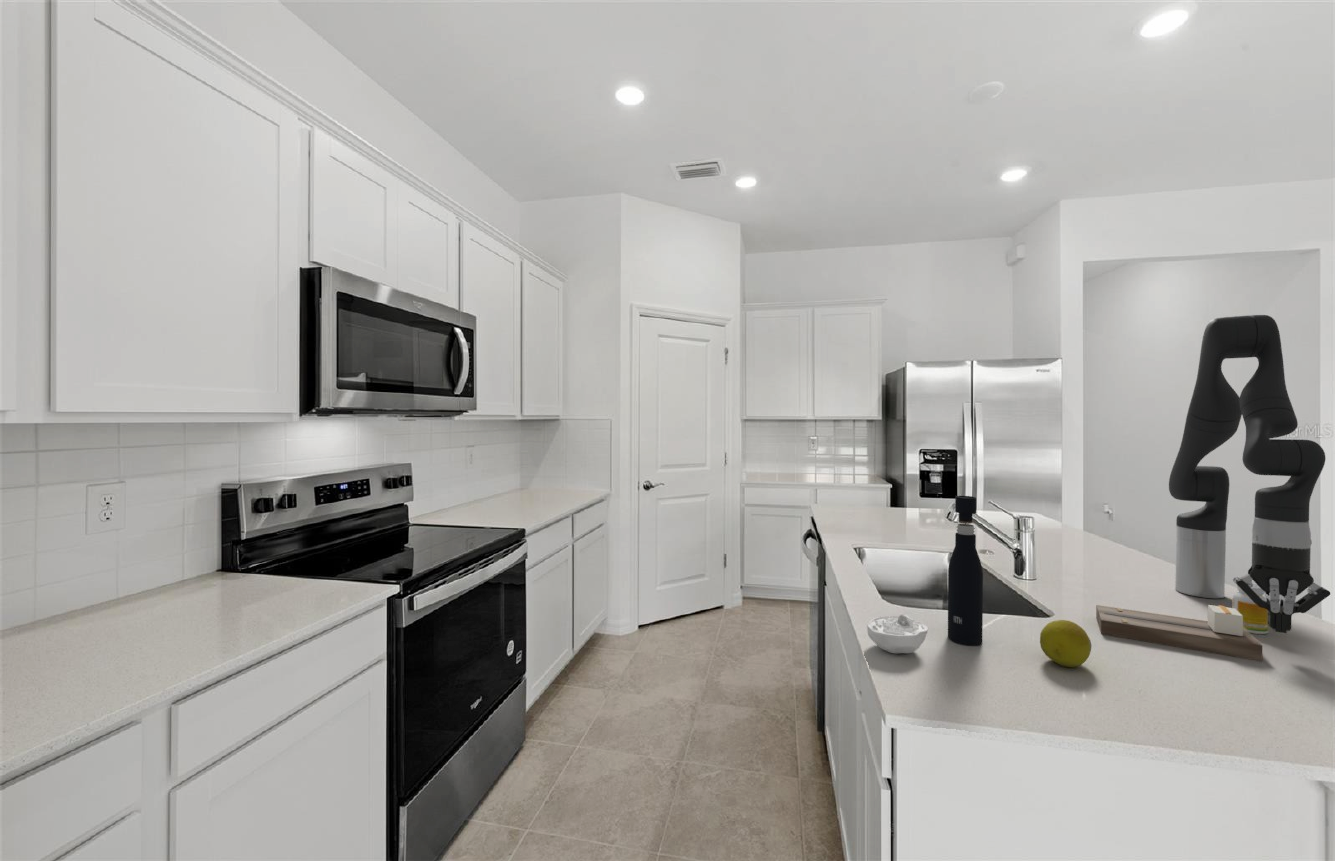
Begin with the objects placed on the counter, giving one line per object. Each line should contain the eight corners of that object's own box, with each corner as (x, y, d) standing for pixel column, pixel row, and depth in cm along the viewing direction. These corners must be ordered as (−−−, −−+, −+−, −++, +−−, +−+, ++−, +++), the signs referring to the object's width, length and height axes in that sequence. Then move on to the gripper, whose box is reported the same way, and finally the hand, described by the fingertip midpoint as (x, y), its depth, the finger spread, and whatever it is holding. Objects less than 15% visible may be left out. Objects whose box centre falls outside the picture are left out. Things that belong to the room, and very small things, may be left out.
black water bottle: (978, 635, 116) (979, 495, 116) (985, 647, 110) (986, 499, 110) (945, 631, 119) (946, 494, 118) (950, 643, 112) (951, 498, 112)
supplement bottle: (1275, 635, 115) (1276, 590, 115) (1245, 633, 116) (1246, 588, 116) (1254, 626, 121) (1255, 582, 120) (1225, 624, 122) (1226, 581, 121)
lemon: (1078, 679, 97) (1079, 634, 97) (1029, 663, 103) (1030, 621, 103) (1101, 663, 103) (1101, 621, 103) (1053, 649, 110) (1054, 609, 109)
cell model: (855, 643, 113) (855, 610, 113) (905, 637, 116) (905, 605, 116) (886, 664, 103) (886, 629, 103) (940, 657, 106) (940, 622, 106)
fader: (1207, 623, 113) (1207, 603, 113) (1234, 627, 111) (1235, 607, 111) (1214, 631, 109) (1214, 611, 109) (1242, 636, 107) (1242, 614, 107)
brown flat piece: (1096, 617, 126) (1096, 604, 126) (1243, 641, 113) (1243, 625, 113) (1101, 633, 117) (1101, 619, 117) (1262, 661, 104) (1262, 644, 103)
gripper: (1323, 542, 105) (1321, 632, 105) (1227, 535, 112) (1225, 618, 113) (1341, 550, 99) (1339, 645, 99) (1238, 542, 106) (1236, 630, 107)
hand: (1278, 631), depth 106 cm, fingers closed
